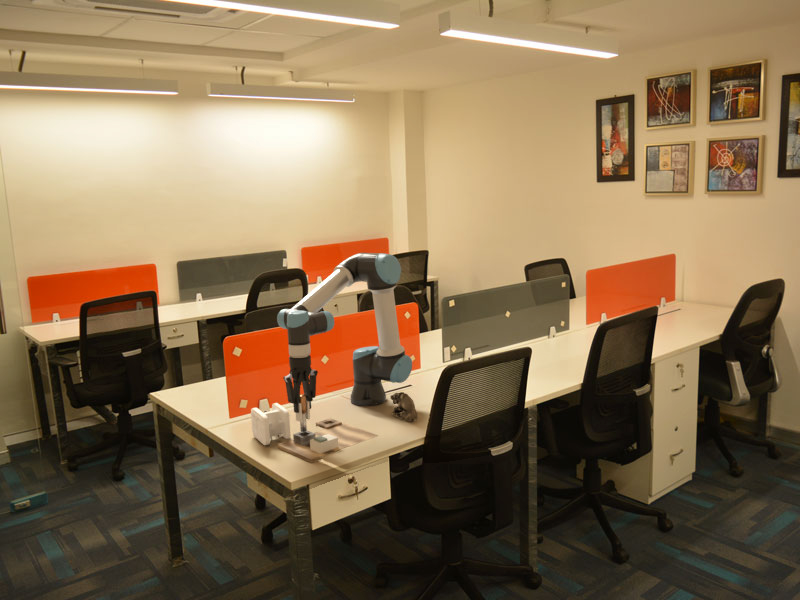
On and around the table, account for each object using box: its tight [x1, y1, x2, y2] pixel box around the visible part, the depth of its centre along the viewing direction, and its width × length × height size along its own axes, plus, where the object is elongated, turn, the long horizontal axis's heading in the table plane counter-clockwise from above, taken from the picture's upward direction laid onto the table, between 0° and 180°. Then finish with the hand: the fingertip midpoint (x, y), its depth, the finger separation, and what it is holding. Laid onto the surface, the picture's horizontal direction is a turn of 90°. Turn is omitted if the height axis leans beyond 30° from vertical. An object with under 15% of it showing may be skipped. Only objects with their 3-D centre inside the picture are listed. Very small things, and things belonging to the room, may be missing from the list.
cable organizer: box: [250, 402, 292, 446], centre depth 252 cm, size 15×11×12 cm
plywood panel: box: [277, 422, 379, 464], centre depth 247 cm, size 30×20×4 cm, turn 133°
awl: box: [299, 393, 308, 432], centre depth 244 cm, size 3×3×13 cm
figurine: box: [390, 391, 418, 422], centre depth 271 cm, size 6×14×10 cm, turn 29°
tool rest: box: [315, 417, 343, 429], centre depth 263 cm, size 7×7×2 cm
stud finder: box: [310, 434, 338, 453], centre depth 239 cm, size 8×6×4 cm
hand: (303, 419), depth 245 cm, fingers closed on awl, 3 cm apart
